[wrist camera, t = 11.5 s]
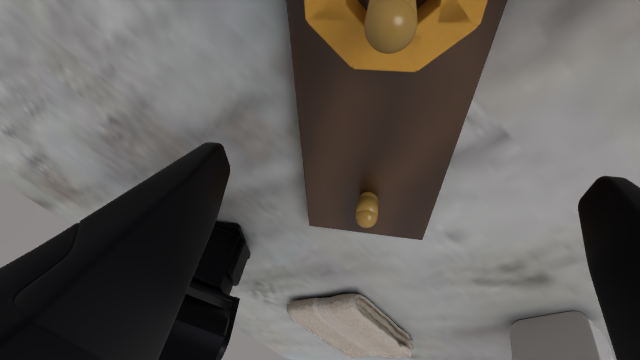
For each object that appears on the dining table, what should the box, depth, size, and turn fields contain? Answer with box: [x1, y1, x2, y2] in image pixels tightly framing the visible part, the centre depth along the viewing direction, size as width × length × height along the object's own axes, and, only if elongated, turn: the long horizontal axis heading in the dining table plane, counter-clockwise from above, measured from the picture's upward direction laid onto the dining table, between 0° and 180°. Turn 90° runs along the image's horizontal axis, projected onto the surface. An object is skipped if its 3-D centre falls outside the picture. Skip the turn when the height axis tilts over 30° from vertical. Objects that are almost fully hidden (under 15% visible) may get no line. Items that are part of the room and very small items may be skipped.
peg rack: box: [286, 0, 507, 240], centre depth 18 cm, size 10×24×8 cm, turn 2°
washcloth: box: [287, 294, 414, 358], centre depth 46 cm, size 12×18×3 cm, turn 36°
